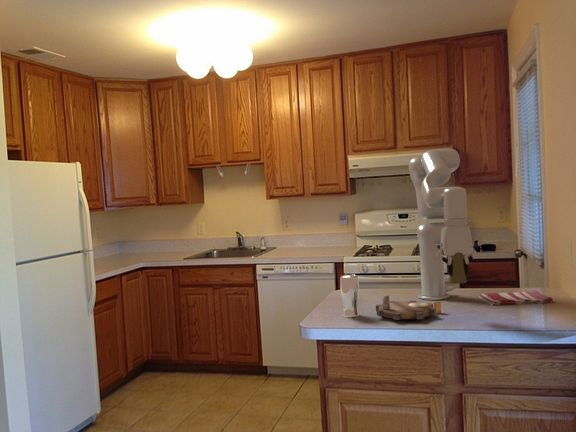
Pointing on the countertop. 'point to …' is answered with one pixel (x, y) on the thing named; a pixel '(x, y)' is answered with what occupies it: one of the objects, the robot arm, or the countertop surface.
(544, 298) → the dish towel
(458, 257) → the cork
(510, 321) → the countertop surface
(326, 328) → the countertop surface
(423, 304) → the sprocket wheel
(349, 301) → the beer glass
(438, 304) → the orange wooden block
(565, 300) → the countertop surface
